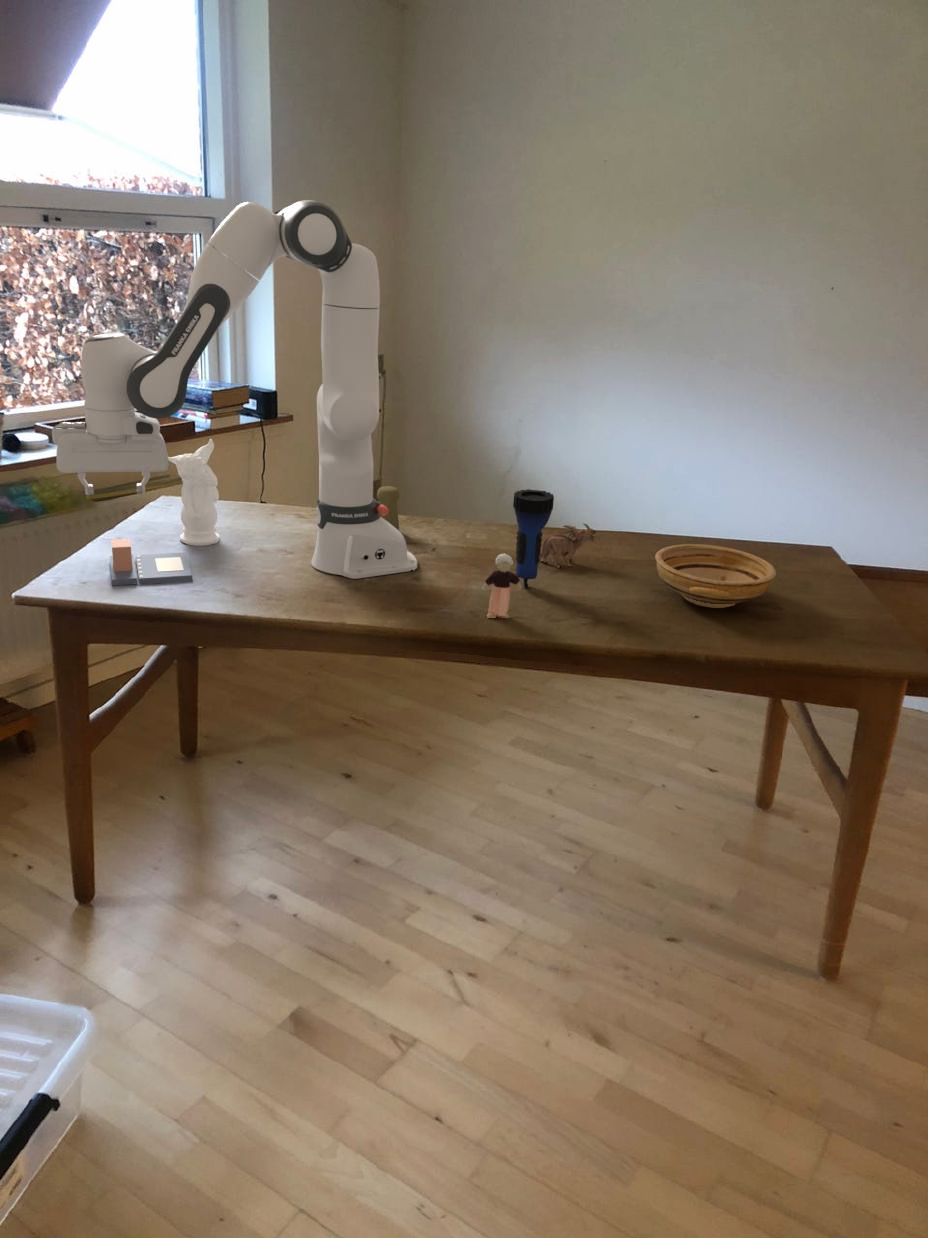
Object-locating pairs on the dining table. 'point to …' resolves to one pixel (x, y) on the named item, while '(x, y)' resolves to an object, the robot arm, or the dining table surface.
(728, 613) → the dining table surface
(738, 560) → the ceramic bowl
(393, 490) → the cork
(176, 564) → the grey notebook
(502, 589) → the grandmother figurine
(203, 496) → the white tall statuette
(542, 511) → the flashlight
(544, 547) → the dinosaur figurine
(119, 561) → the stub
